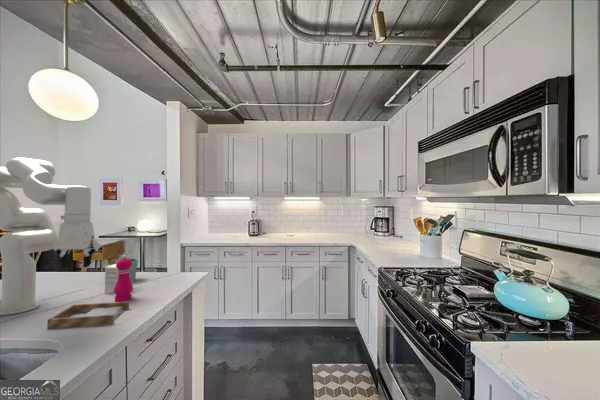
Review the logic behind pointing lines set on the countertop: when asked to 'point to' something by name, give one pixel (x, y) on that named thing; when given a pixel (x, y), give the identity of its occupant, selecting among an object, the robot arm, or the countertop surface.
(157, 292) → the countertop surface
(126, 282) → the pepper mill
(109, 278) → the supplement box
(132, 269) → the drinking glass
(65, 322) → the wooden u-shaped frame
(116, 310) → the cover plate
